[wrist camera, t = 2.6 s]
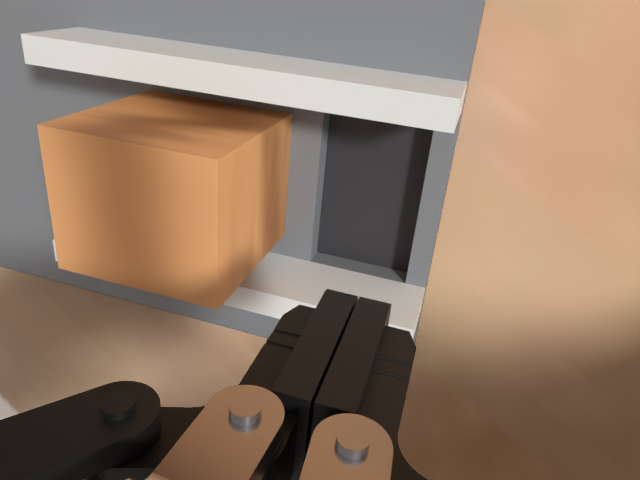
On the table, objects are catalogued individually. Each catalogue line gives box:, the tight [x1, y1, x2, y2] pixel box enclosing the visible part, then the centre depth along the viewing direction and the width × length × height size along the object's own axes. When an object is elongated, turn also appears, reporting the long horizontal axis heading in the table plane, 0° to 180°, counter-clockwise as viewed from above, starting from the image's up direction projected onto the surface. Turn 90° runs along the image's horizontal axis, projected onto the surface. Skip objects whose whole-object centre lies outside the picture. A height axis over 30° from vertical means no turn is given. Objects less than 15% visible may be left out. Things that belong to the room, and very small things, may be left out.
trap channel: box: [0, 0, 485, 344], centre depth 22 cm, size 23×16×4 cm
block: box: [37, 90, 292, 310], centre depth 19 cm, size 6×5×6 cm
